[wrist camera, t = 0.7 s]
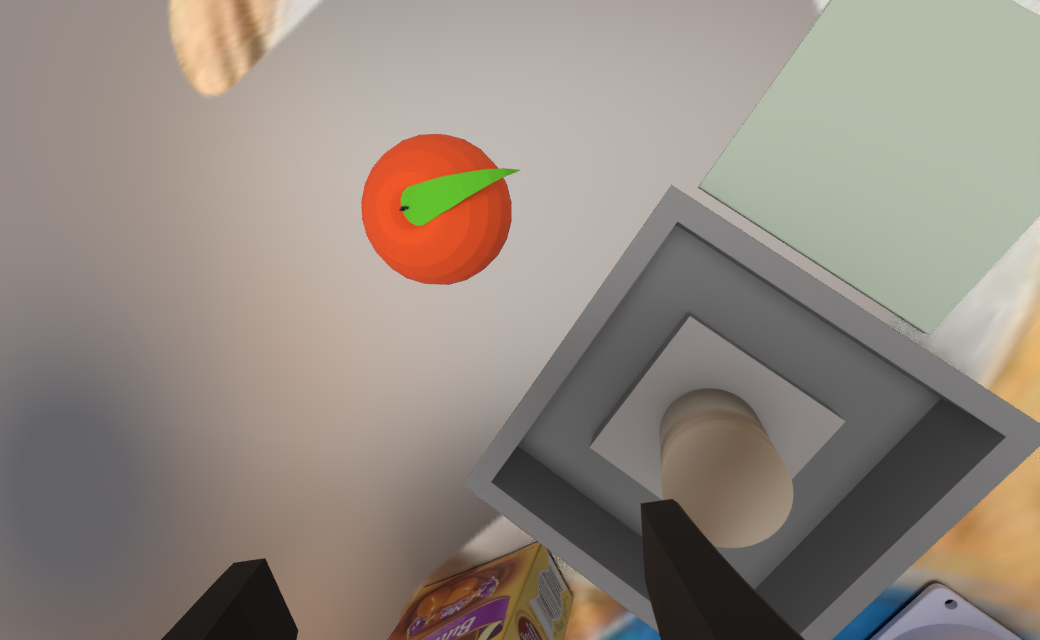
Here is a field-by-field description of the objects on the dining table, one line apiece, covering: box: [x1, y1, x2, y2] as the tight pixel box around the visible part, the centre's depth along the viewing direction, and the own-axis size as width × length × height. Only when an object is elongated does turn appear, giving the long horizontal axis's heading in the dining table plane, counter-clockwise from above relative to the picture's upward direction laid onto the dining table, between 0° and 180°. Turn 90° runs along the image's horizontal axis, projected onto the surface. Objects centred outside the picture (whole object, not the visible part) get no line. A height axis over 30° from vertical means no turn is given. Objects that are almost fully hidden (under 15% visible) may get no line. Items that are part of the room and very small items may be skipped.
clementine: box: [362, 134, 519, 285], centre depth 25 cm, size 8×7×7 cm
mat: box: [698, 0, 1040, 335], centre depth 23 cm, size 12×12×1 cm
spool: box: [660, 388, 793, 548], centre depth 22 cm, size 4×4×6 cm
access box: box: [463, 185, 1040, 640], centre depth 24 cm, size 16×16×6 cm
